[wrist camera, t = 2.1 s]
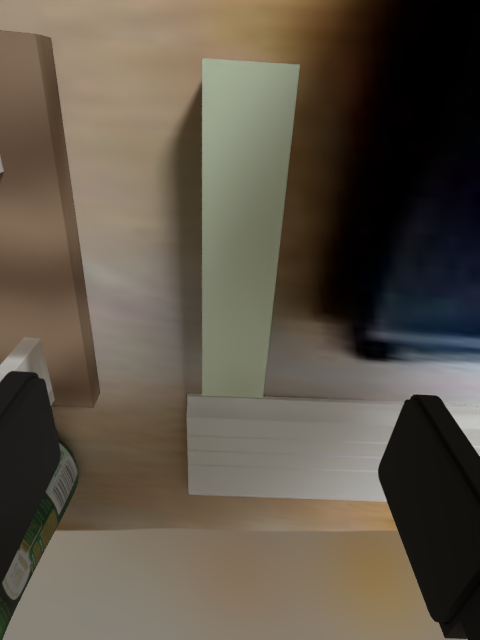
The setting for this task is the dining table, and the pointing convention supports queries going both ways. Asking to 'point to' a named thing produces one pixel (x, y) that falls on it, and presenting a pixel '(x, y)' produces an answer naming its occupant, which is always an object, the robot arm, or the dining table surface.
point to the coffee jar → (38, 535)
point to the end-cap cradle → (40, 231)
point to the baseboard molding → (295, 445)
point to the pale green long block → (242, 216)
